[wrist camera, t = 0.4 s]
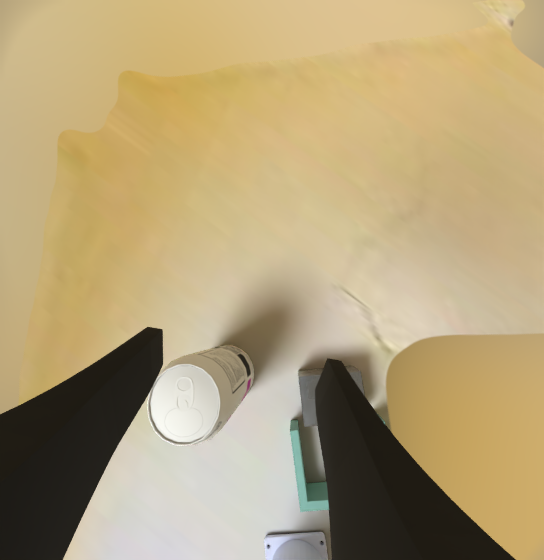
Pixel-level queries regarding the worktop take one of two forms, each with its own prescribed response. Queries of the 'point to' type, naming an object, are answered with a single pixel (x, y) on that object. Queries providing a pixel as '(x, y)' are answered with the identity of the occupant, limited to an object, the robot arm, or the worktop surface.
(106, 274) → the worktop surface
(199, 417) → the supplement can
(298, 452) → the dock
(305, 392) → the block
